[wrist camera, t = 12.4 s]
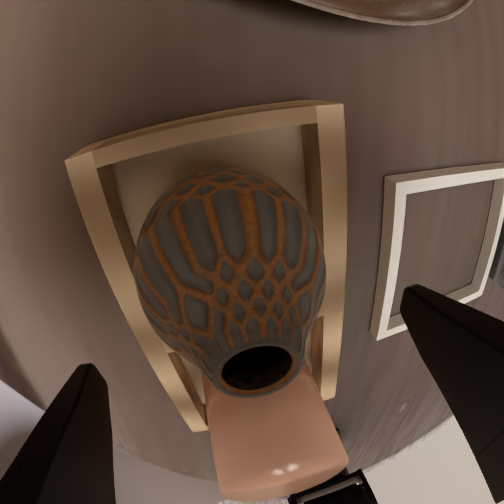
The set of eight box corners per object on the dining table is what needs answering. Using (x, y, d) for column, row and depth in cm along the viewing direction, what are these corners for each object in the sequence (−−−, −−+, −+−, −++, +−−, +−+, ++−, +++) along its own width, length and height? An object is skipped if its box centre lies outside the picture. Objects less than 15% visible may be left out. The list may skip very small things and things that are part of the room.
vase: (150, 286, 16) (144, 441, 8) (140, 153, 12) (82, 257, 5) (279, 280, 17) (343, 416, 10) (295, 154, 14) (419, 245, 6)
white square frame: (474, 288, 25) (481, 295, 24) (369, 330, 23) (376, 340, 22) (501, 162, 18) (512, 167, 17) (384, 176, 17) (396, 182, 16)
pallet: (320, 367, 24) (334, 397, 21) (189, 399, 23) (193, 432, 20) (312, 99, 14) (343, 103, 11) (87, 145, 13) (64, 160, 10)
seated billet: (299, 374, 22) (341, 478, 14) (212, 395, 21) (233, 506, 14) (295, 310, 19) (357, 439, 11) (187, 336, 18) (204, 479, 10)
